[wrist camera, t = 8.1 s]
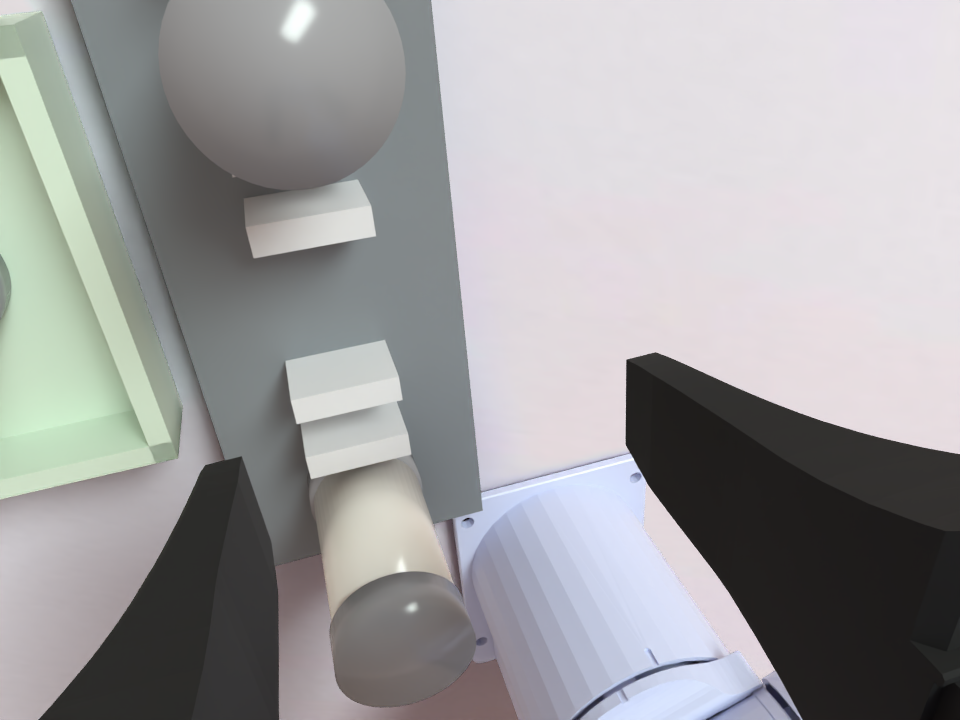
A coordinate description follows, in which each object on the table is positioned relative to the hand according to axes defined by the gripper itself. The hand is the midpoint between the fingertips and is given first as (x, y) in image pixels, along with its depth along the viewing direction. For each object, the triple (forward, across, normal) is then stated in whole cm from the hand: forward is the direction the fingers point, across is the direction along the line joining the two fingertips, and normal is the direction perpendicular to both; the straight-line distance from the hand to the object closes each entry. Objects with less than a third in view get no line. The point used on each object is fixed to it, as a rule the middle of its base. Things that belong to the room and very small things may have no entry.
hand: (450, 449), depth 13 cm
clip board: (+10, +2, 0) cm, 10 cm away
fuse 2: (+9, +2, +8) cm, 12 cm away
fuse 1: (+9, +1, -6) cm, 11 cm away
